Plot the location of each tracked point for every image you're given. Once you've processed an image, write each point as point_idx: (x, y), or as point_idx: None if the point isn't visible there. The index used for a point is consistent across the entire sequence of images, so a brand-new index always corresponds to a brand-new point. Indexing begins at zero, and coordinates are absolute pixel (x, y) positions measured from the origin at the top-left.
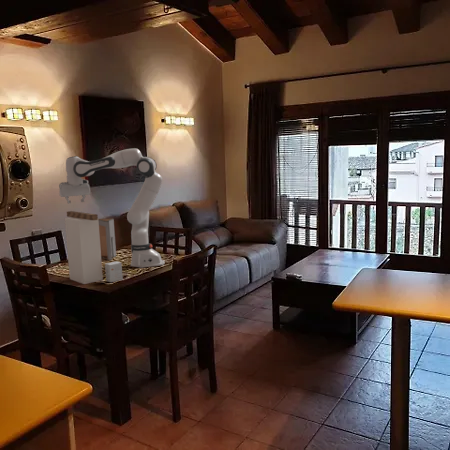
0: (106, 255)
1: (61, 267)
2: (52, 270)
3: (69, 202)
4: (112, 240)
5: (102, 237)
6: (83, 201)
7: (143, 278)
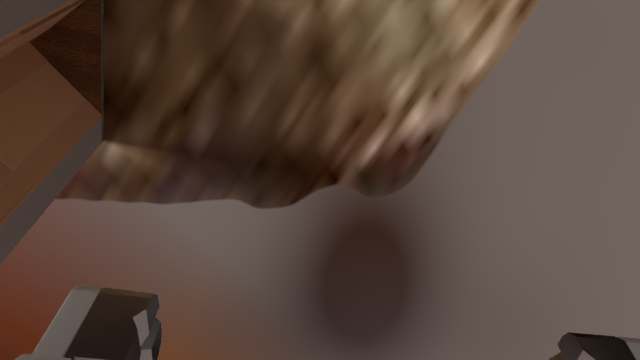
0: (66, 81)
1: (422, 66)
2: (506, 41)
3: (628, 352)
4: None
5: (11, 160)
6: (100, 292)
7: None
